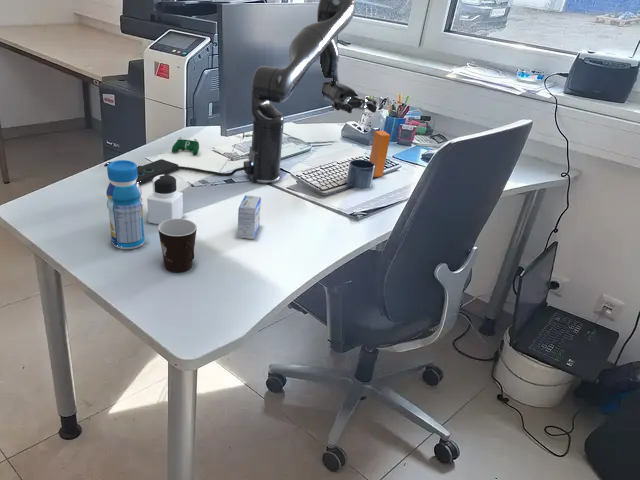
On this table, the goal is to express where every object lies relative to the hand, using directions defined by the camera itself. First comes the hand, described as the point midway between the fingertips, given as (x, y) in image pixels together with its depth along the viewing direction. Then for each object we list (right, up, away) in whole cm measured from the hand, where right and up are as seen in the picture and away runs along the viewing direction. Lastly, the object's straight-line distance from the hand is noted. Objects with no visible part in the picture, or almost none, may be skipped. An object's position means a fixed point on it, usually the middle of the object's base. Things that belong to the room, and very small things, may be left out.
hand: (363, 109), depth 181 cm
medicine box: (-38, -44, -35) cm, 68 cm away
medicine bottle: (-60, -41, -31) cm, 79 cm away
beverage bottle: (-68, -48, -43) cm, 93 cm away
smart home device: (-69, -23, -6) cm, 73 cm away
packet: (+4, -21, +2) cm, 21 cm away
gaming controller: (-59, -10, +13) cm, 61 cm away
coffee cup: (-3, -26, -6) cm, 27 cm away
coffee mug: (-54, -55, -52) cm, 93 cm away
